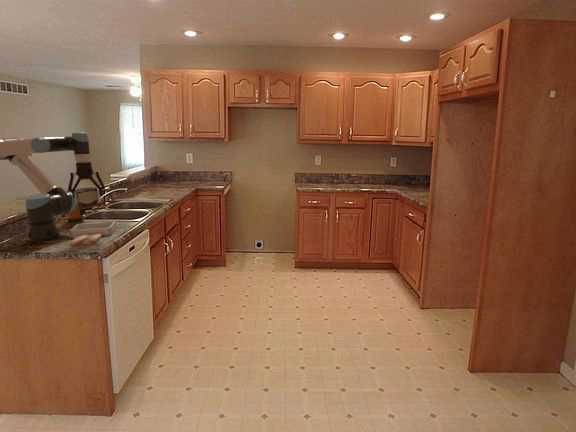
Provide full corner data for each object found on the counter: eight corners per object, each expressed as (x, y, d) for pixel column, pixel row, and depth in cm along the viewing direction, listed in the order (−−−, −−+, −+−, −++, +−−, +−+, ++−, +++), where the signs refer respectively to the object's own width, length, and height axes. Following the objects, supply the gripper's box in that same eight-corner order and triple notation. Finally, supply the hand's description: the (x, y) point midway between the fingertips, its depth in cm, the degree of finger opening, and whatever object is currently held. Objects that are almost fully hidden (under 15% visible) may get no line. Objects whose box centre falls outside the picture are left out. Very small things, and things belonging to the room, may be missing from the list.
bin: (70, 238, 216) (69, 230, 215) (78, 230, 232) (77, 224, 231) (111, 234, 221) (110, 227, 220) (116, 227, 237) (115, 221, 236)
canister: (73, 219, 263) (69, 189, 259) (89, 219, 262) (85, 188, 258) (65, 222, 254) (60, 191, 250) (81, 222, 253) (77, 191, 249)
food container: (93, 204, 226) (91, 186, 224) (100, 205, 223) (98, 187, 220) (72, 208, 216) (69, 189, 214) (78, 209, 213) (75, 190, 211)
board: (70, 245, 202) (69, 242, 201) (78, 237, 216) (77, 235, 216) (96, 243, 204) (95, 240, 204) (102, 236, 219) (101, 233, 218)
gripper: (57, 163, 208) (63, 205, 213) (105, 161, 214) (110, 202, 219) (61, 162, 215) (66, 202, 220) (107, 160, 221) (112, 199, 226)
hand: (88, 202), depth 219 cm, fingers closed on food container, 11 cm apart
